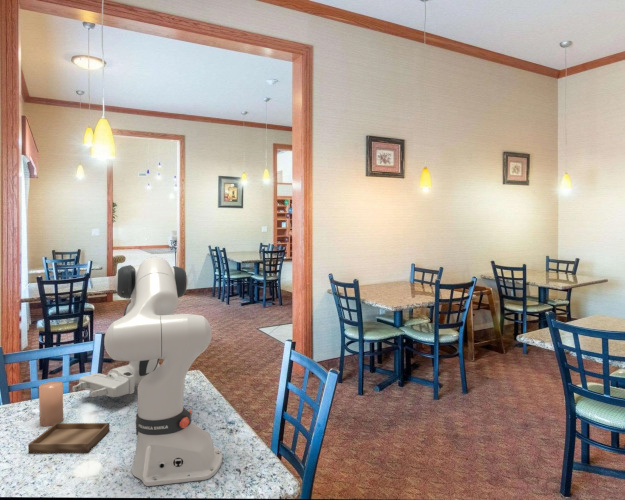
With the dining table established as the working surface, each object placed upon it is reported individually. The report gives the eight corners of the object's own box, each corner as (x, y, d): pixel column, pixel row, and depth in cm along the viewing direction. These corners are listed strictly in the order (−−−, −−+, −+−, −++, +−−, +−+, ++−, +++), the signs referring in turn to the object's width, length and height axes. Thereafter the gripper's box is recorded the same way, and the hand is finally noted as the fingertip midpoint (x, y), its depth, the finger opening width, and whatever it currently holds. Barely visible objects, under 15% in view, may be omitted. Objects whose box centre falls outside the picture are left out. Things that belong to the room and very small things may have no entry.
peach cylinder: (67, 417, 140) (66, 381, 139) (56, 426, 133) (55, 388, 133) (47, 417, 139) (46, 381, 139) (35, 426, 133) (34, 388, 133)
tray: (109, 431, 130) (109, 423, 130) (88, 453, 117) (87, 444, 117) (55, 431, 130) (55, 423, 130) (28, 453, 117) (28, 444, 117)
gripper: (100, 366, 162) (63, 377, 150) (136, 375, 152) (100, 388, 140) (100, 383, 162) (64, 395, 150) (137, 393, 152) (100, 407, 140)
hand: (82, 392), depth 145 cm, fingers open, 8 cm apart
